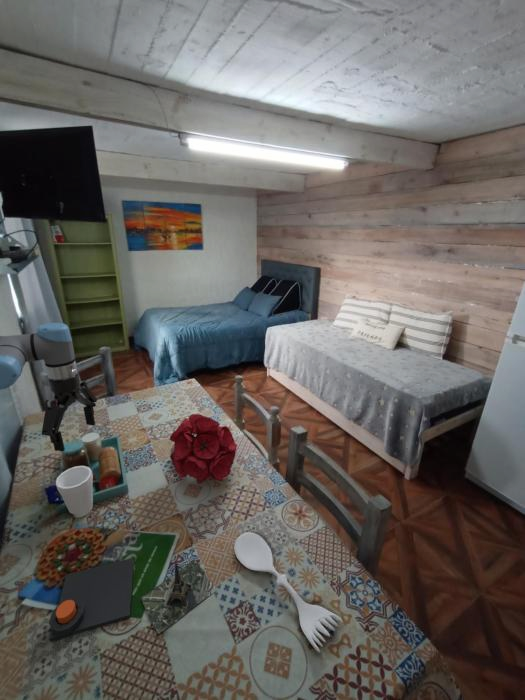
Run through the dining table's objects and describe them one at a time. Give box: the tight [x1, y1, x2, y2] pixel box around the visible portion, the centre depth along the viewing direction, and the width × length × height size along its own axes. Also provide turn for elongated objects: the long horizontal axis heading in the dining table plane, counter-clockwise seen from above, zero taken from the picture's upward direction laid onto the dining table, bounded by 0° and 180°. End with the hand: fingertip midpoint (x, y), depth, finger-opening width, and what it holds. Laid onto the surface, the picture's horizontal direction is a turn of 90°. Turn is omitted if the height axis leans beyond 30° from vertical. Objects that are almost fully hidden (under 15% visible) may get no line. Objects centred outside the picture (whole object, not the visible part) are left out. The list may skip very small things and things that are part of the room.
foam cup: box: [55, 465, 94, 519], centre depth 97 cm, size 10×9×13 cm
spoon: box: [233, 531, 344, 653], centre depth 79 cm, size 9×32×4 cm, turn 41°
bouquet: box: [168, 413, 238, 485], centre depth 113 cm, size 22×24×30 cm
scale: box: [48, 557, 135, 642], centre depth 75 cm, size 16×14×3 cm
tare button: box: [56, 600, 76, 624], centre depth 70 cm, size 4×4×2 cm
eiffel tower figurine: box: [140, 559, 217, 635], centre depth 75 cm, size 15×10×13 cm
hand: (76, 436), depth 100 cm, fingers open, 13 cm apart
